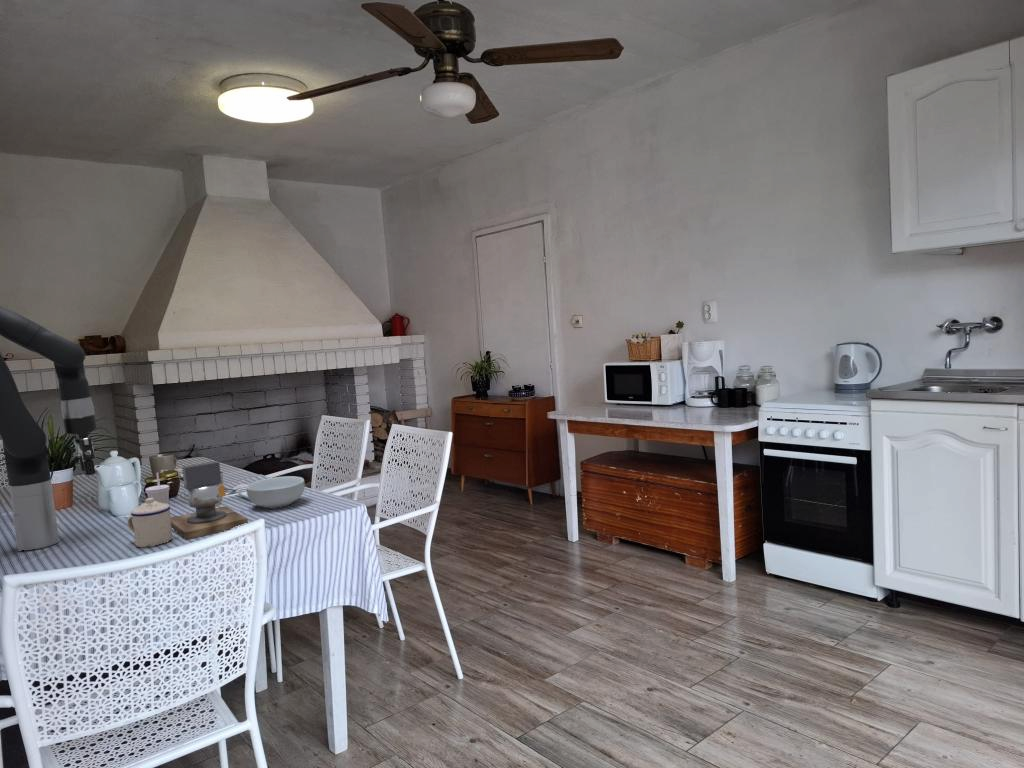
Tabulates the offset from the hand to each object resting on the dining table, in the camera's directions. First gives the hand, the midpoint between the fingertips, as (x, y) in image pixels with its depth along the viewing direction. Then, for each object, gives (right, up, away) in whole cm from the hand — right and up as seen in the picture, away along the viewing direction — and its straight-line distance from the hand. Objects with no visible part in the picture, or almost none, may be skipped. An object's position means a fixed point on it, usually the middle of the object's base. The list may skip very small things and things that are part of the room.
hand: (88, 472), depth 192 cm
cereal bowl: (+46, -13, +20) cm, 52 cm away
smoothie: (+14, -16, +12) cm, 24 cm away
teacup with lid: (+23, -17, -11) cm, 30 cm away
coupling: (+32, -9, +1) cm, 33 cm away
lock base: (+32, -15, +2) cm, 36 cm away
